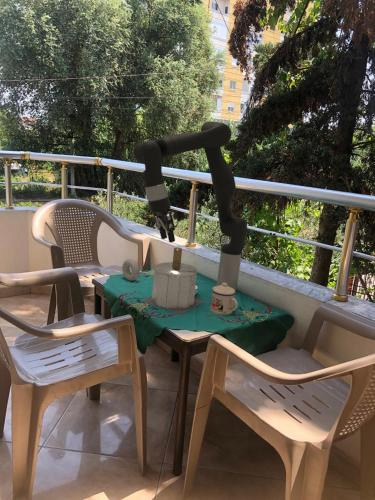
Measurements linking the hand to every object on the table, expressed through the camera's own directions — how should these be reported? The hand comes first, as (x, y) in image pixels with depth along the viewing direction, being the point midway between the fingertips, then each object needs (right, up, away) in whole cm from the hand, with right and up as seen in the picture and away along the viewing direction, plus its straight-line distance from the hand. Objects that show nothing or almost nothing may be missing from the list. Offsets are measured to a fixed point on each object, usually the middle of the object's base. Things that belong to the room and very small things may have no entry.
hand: (168, 240), depth 151 cm
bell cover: (+1, -24, +13) cm, 27 cm away
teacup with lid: (+21, -28, +8) cm, 36 cm away
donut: (-19, -18, +34) cm, 43 cm away
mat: (+1, -25, +13) cm, 28 cm away
